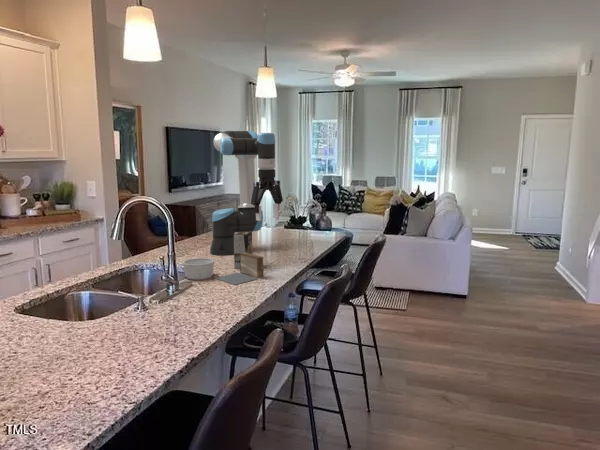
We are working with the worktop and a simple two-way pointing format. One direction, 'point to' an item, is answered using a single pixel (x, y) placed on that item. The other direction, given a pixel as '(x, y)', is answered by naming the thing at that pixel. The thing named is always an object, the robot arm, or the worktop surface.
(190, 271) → the ramekin
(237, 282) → the mat
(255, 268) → the wooden block
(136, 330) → the worktop surface
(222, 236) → the robot arm
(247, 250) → the coffee box
